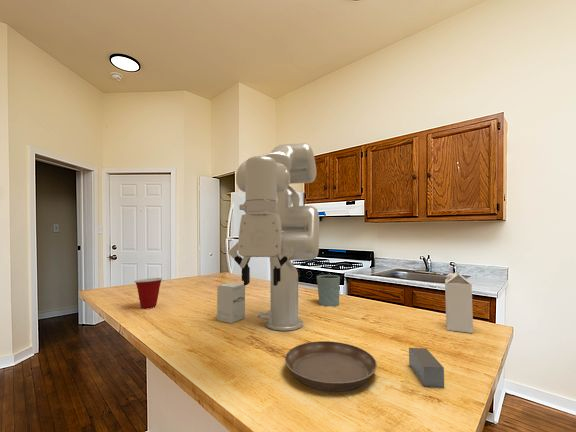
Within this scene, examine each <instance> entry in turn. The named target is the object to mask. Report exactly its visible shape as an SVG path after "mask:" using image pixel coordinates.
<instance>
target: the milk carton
mask: <svg viewBox="0 0 576 432" xmlns="http://www.w3.org/2000/svg"><path fill="white" fill-rule="evenodd" d="M445 277H446V279H445V280H444V289H445V292H444V293H445V294H444V295H445V297H444V298H445V324H446V329H447V331H452V332H460V333H468V334H474V320H473V318H474V315H473V288H472V285H473V284H471V283H472V282H470V281H469V280H468V279H466V278H465V277H464V276H463V275H461V274H460V270H458V268H455V272H454V273H452V272H449V273H448V274H447V275H446V276H445Z"/></svg>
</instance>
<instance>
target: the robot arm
mask: <svg viewBox="0 0 576 432" xmlns="http://www.w3.org/2000/svg"><path fill="white" fill-rule="evenodd" d="M316 178H317V165H316V159H315V153H314V151H313V149H312V147H311V146H310V145H309V144H308V143H302V142H301V143H283V144H279V145H277V146H275V147H274V148H273V149H272V150H271V151H270V152H268V153H265V154H262V155H257V156H256V155H255V156H251V157H249V158H248V159H246V160H244V161H243V162H242V163H241V164H240V165H239V166H238V168H237V169H236V175H235V182H236V185H237V186H236V187H238V189H239V191H241V192H243V193H244V194H245V196H244V197H245V201H244V203H243V204H239V207H238V208H239V211H244V213H245V214H241V217H240V222H239V232H238V241H237V243H235V245H233V246H232V247H231V248H230V249H229V250H228V255H229V256H230V257H231V258H232V259H233V260H234V262H236V263H237V264H238V266H239V267H240V268H241V281H242V282H243V284H244V285H245V286H248V285H249V284H251V283H250V282H251V281H250V280H251V279H250V276H251V275H250V273H251V272H250V269H251V268H250V266H249V263H250V260H251V259H252V258H269V268H270V269H269V270H270V272H269V273H270V280H269V281H270V294H269V295H270V297H269V298H270V300H269V301H270V310H267V311H266V312H265V311H258V313H257V318H259V319H260V320H266V321H265V325H266V328H268V329H270V330H274V331H284V332H286V331H294V330H299V329H301V328H302V327H303V326H304V320H302V319H301V318H299V272H298V270H297V268H296V266H295V264H293V263H292V261H304V260H305V261H309V260H310V261H312V260H315V259H317V257H318V256H319V251H320V215H319V211H318V209H317V208H316V207H315V206H312V205H300V200H301V199H300V196H299V194H298V192H297V191H296V190H295V189H294V188H293V187H292V186H290V184H294V185H295V184H309V183H311V184H312V183H314V181H315V180H316Z"/></svg>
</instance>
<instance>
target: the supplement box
mask: <svg viewBox="0 0 576 432" xmlns="http://www.w3.org/2000/svg"><path fill="white" fill-rule="evenodd" d="M216 293H217V295H216V296H217V299H216V301H217V302H216V306H217V307H216V320H217V321H220V322H223V323H227V324H228V323H229V324H233V323H235V322H237V321H241V320H243V319H246V285H244V283H239V282H228V283H222V284H218V285H217V292H216Z"/></svg>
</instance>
